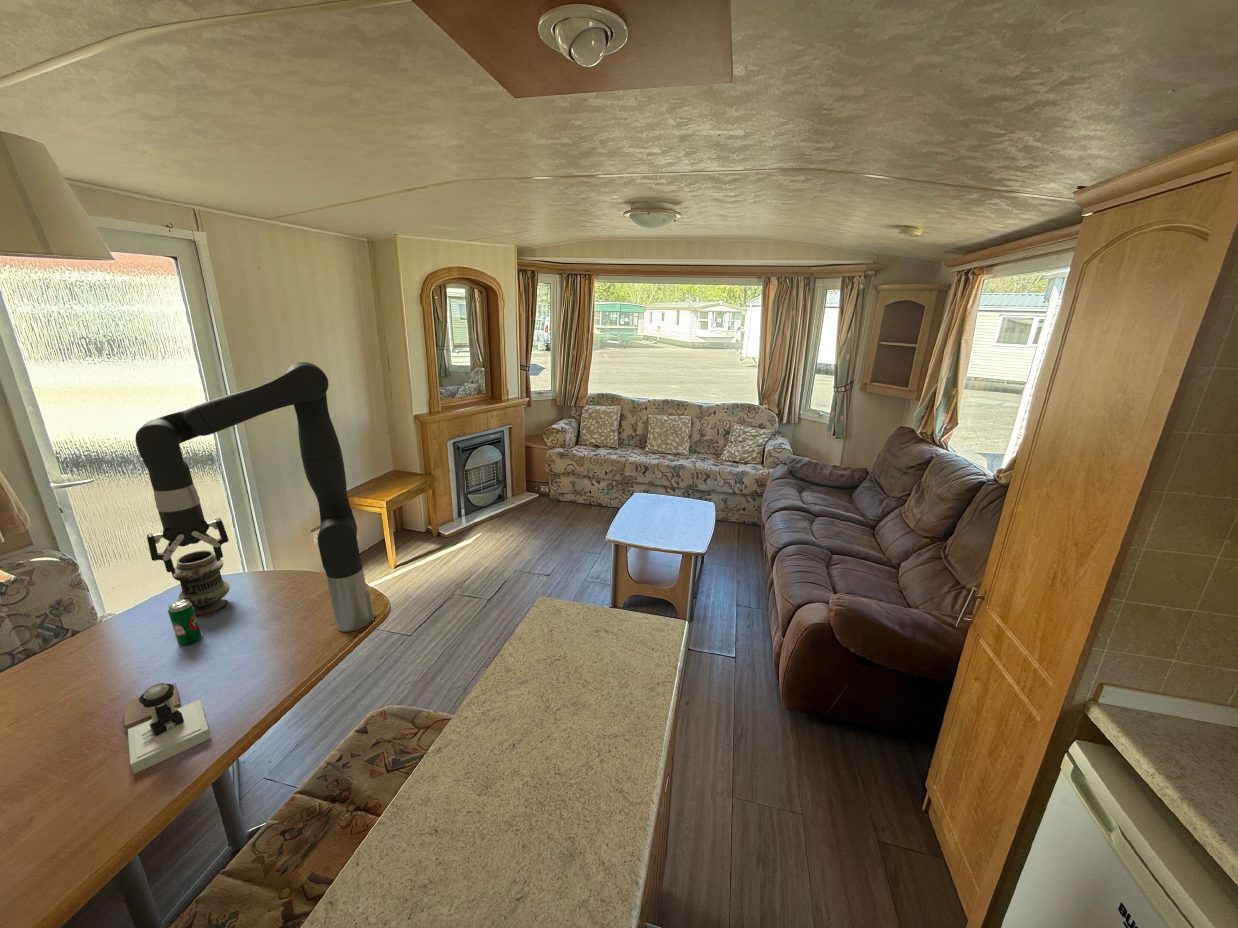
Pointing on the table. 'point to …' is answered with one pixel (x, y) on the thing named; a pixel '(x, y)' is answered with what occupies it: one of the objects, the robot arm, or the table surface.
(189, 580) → the apothecary jar
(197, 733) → the cream tray
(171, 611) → the soda can
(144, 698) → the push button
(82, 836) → the table surface
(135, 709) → the walnut stand
